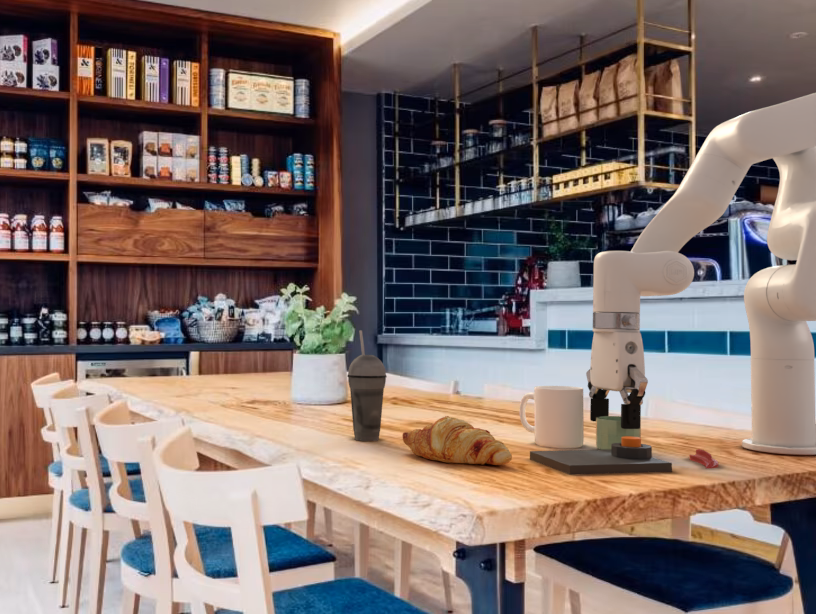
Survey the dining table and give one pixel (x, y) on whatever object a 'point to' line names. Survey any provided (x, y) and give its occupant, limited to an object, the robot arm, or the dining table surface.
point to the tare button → (631, 441)
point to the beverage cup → (366, 394)
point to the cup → (556, 416)
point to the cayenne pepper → (704, 459)
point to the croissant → (457, 443)
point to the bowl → (612, 431)
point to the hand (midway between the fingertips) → (614, 424)
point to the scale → (603, 460)
